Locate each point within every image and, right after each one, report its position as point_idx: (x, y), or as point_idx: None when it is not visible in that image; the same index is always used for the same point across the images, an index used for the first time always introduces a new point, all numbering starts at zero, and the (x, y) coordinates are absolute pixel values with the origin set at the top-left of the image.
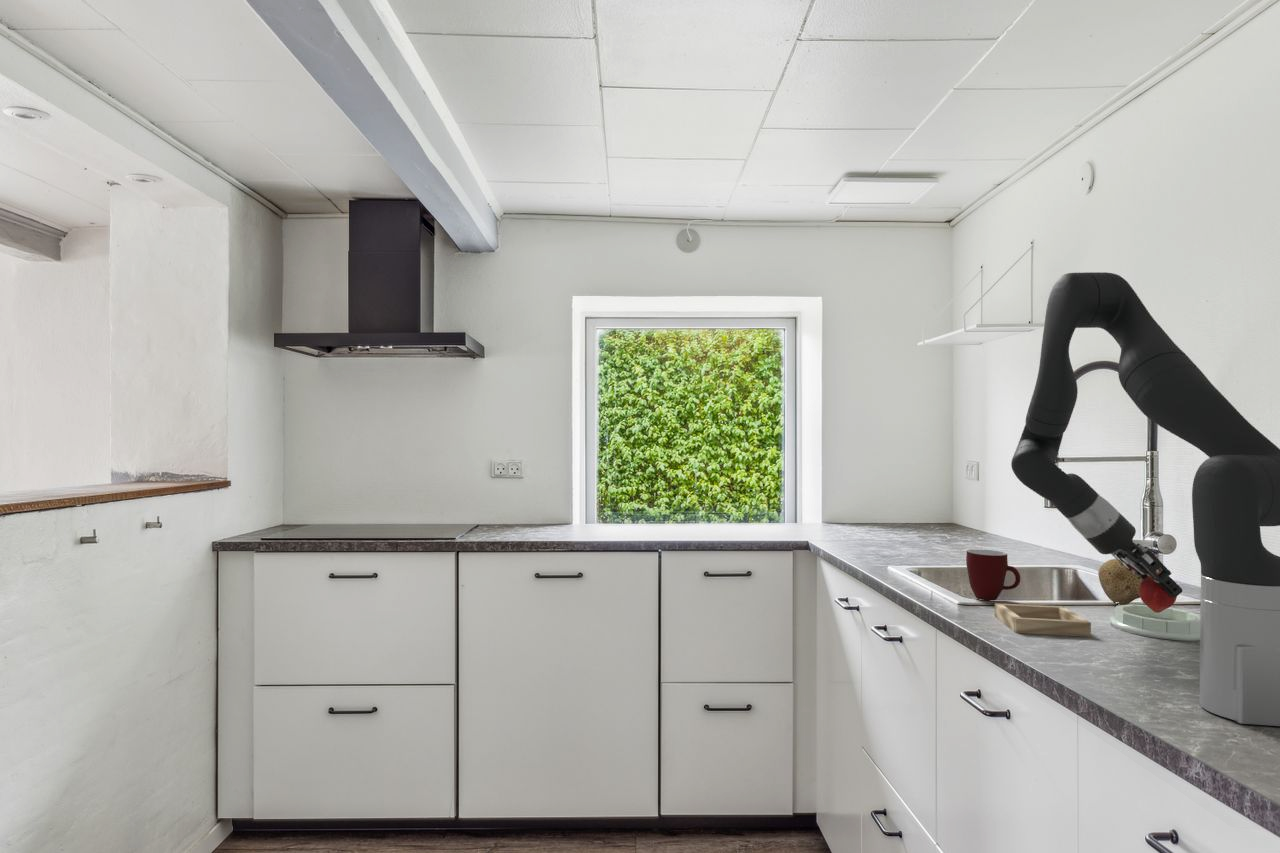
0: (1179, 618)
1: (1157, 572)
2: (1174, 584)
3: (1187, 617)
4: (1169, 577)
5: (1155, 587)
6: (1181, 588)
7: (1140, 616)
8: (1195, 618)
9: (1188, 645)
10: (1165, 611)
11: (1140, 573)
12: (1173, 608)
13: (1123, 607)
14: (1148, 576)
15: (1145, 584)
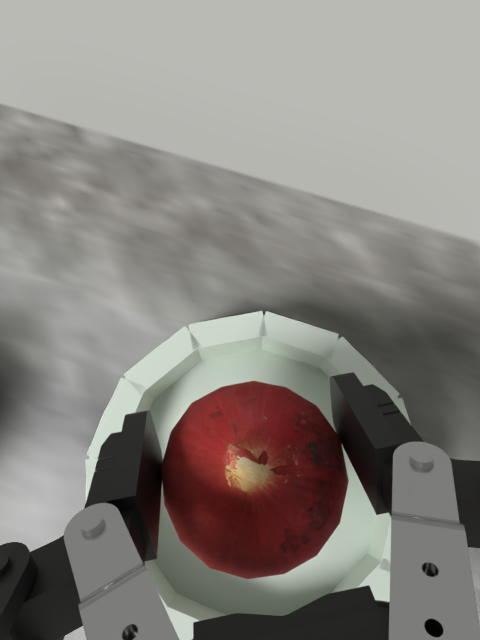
0: (180, 374)
1: (273, 478)
2: (401, 416)
3: (204, 352)
4: (393, 434)
5: (340, 509)
6: (354, 375)
7: (375, 583)
8: (302, 348)
9: (472, 435)
10: (139, 410)
11: (143, 561)
12: (127, 375)
13: (185, 615)
14: (242, 531)
15: (298, 560)
